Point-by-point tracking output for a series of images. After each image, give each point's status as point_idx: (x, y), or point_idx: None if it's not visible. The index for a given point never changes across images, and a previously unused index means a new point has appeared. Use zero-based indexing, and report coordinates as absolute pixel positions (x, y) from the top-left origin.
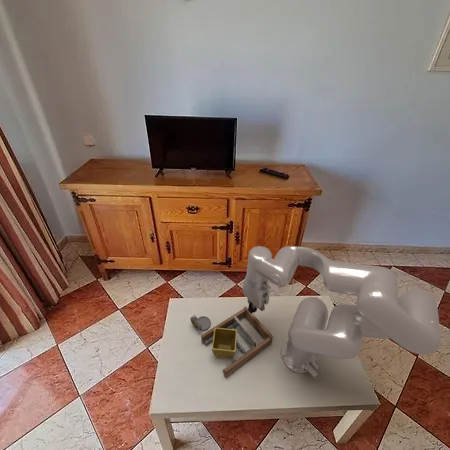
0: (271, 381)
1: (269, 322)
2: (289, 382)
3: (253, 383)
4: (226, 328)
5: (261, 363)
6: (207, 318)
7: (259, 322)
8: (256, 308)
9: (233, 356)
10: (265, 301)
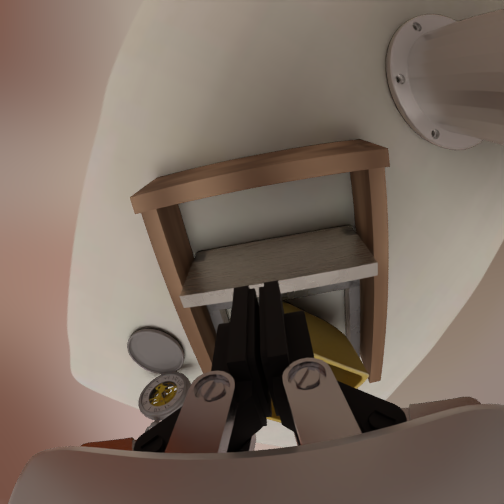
0: (458, 228)
1: (250, 78)
2: (488, 176)
3: (429, 283)
4: (211, 306)
5: (401, 226)
6: (138, 332)
7: (273, 172)
8: (311, 348)
9: (350, 343)
10: (461, 437)
